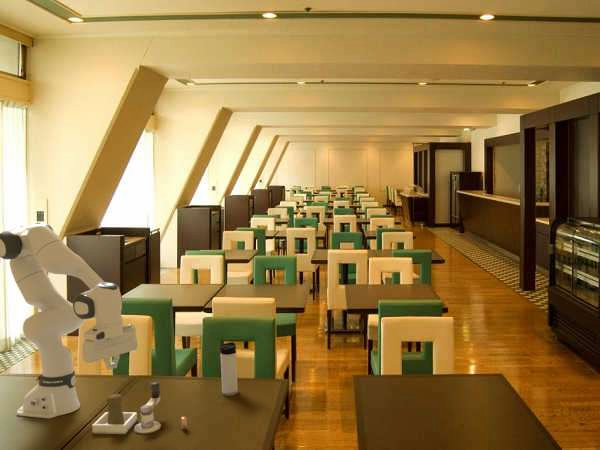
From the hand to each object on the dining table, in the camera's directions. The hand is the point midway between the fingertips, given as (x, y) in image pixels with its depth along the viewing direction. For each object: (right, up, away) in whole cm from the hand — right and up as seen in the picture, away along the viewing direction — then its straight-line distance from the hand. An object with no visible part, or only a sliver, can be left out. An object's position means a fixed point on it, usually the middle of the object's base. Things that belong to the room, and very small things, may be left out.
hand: (112, 368), depth 222 cm
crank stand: (+17, -21, -1) cm, 27 cm away
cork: (+1, -21, +1) cm, 21 cm away
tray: (+1, -21, +2) cm, 21 cm away
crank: (+13, -15, +4) cm, 20 cm away
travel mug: (+38, -17, +32) cm, 53 cm away
